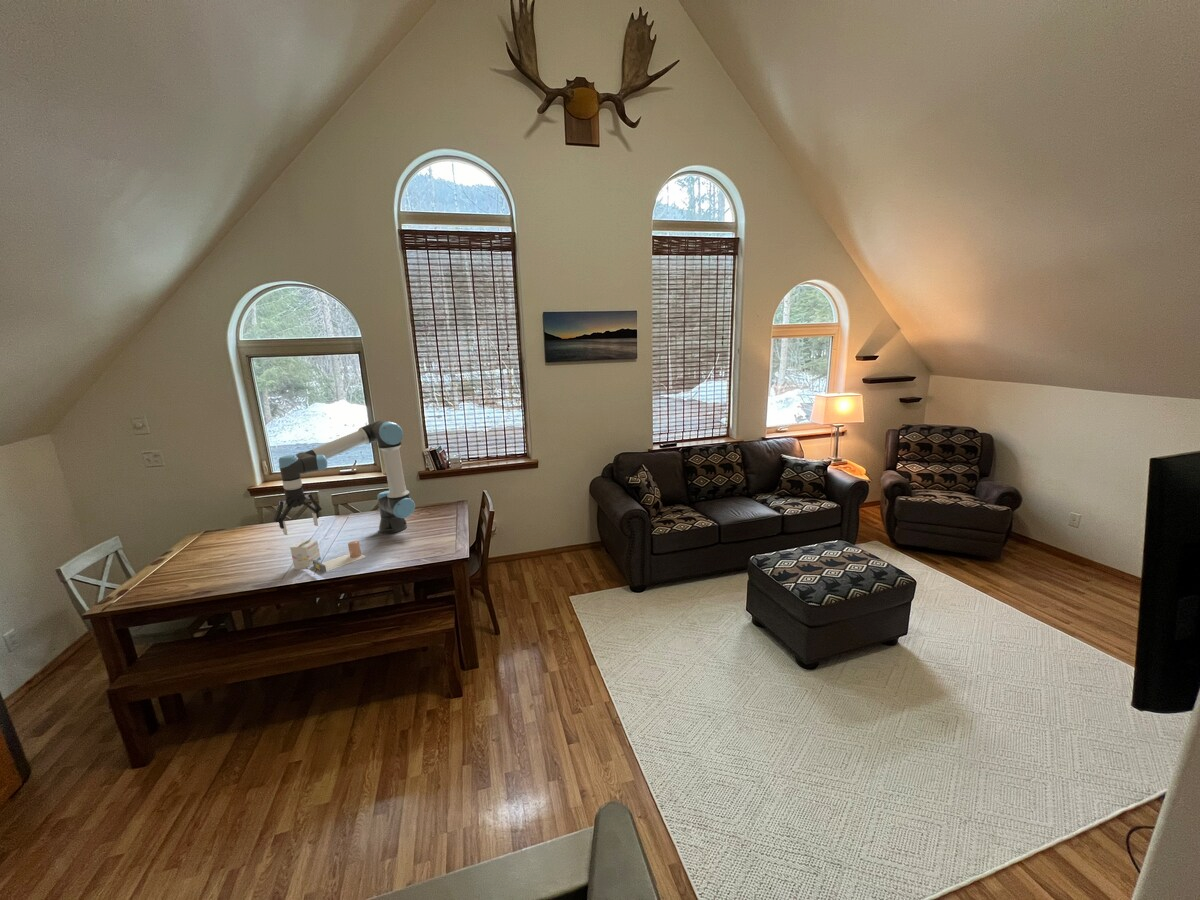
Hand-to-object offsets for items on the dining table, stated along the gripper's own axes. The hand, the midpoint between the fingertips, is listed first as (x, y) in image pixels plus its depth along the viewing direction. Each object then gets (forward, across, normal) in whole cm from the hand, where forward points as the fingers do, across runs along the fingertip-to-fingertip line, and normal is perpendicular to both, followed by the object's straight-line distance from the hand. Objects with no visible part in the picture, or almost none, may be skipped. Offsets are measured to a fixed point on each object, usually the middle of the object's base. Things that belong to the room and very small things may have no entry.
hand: (301, 529), depth 230 cm
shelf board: (+19, -10, +13) cm, 25 cm away
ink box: (+19, 0, 0) cm, 19 cm away
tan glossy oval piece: (+17, -18, +13) cm, 28 cm away
